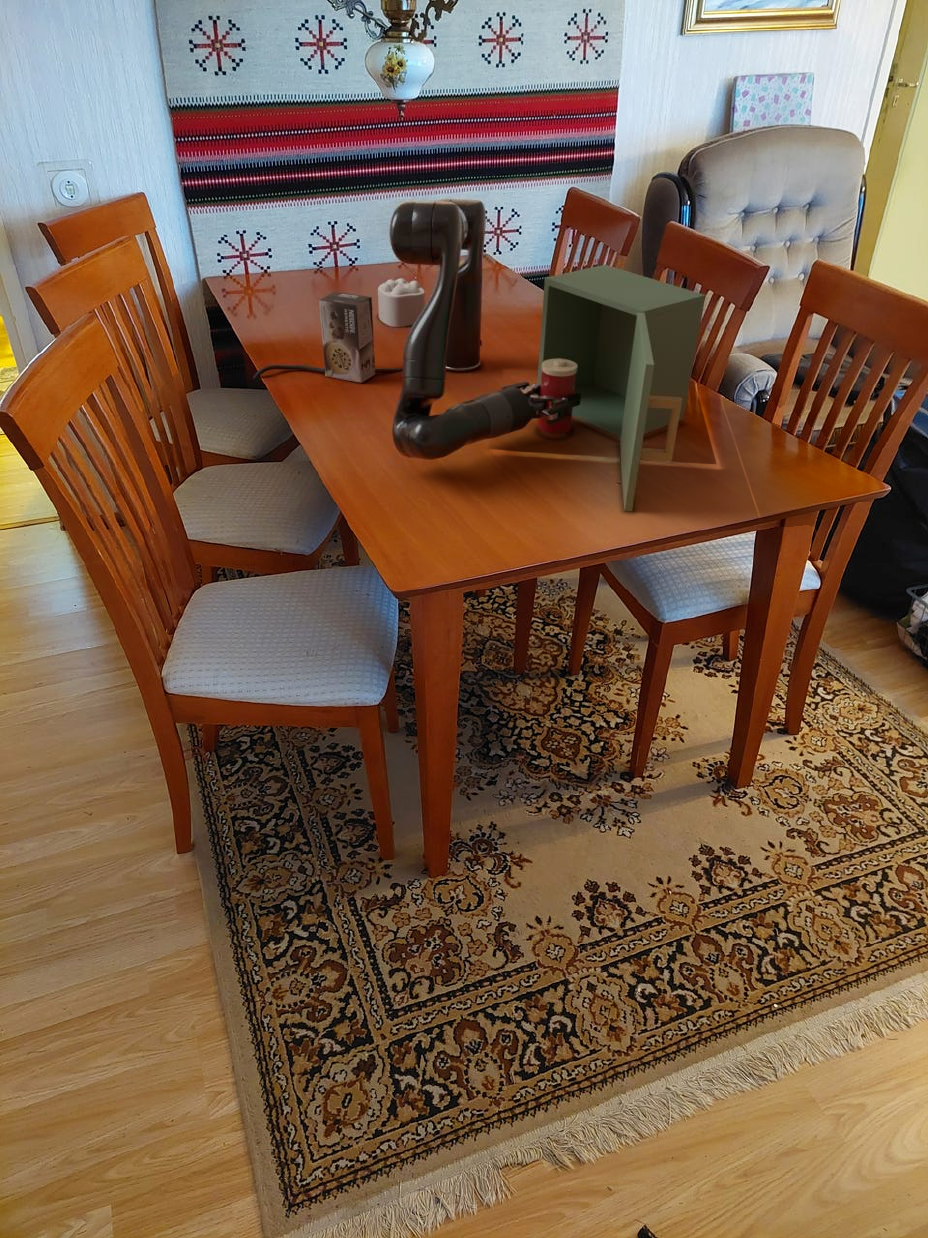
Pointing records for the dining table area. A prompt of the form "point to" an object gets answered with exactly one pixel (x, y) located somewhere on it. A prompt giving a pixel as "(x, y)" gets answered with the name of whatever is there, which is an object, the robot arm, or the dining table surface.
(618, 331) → the cupboard
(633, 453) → the cupboard door
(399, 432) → the robot arm
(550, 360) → the red canister
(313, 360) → the dining table surface
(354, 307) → the coffee box
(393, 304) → the white lumpy-topped cup
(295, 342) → the dining table surface
